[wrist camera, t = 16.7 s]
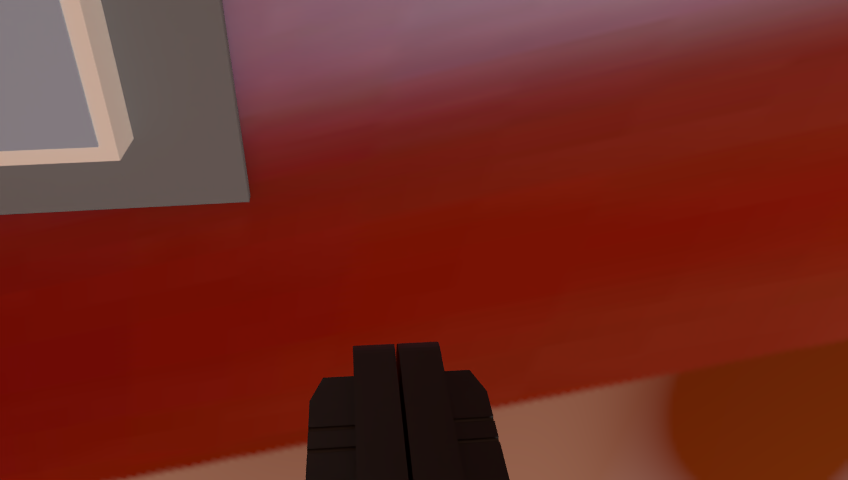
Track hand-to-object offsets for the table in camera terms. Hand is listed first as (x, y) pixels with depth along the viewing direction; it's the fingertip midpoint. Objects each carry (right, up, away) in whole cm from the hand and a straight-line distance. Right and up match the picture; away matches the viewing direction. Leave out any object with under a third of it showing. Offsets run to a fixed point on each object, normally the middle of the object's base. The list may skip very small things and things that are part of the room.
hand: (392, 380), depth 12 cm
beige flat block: (-12, +10, +15) cm, 22 cm away
